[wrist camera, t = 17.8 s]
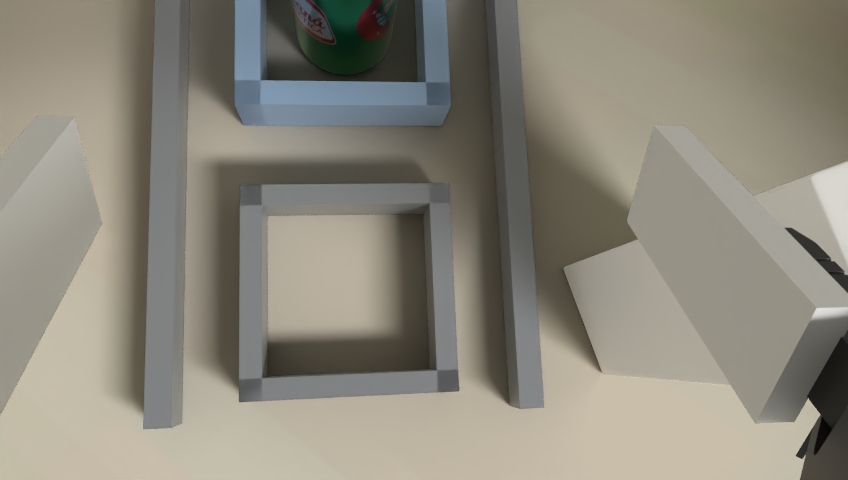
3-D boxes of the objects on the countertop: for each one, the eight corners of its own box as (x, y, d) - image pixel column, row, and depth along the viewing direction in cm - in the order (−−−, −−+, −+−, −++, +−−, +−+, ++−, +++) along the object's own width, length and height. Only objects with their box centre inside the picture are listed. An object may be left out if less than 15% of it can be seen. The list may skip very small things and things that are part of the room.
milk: (658, 233, 36) (1136, 52, 15) (700, 338, 35) (1269, 312, 14) (558, 268, 35) (916, 128, 13) (600, 378, 34) (1048, 416, 13)
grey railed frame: (502, -62, 38) (515, -96, 35) (532, 404, 34) (550, 409, 31) (167, -75, 35) (152, -114, 32) (155, 424, 31) (136, 432, 28)
